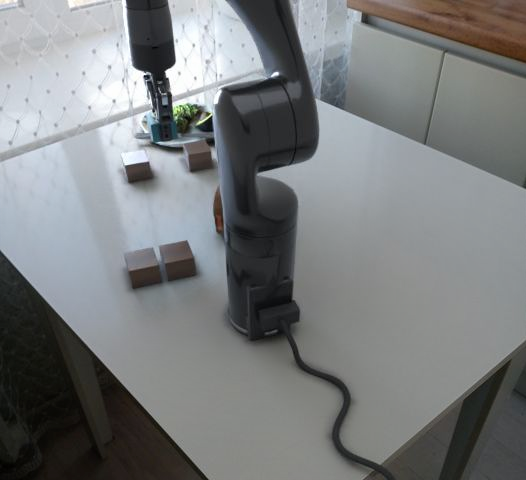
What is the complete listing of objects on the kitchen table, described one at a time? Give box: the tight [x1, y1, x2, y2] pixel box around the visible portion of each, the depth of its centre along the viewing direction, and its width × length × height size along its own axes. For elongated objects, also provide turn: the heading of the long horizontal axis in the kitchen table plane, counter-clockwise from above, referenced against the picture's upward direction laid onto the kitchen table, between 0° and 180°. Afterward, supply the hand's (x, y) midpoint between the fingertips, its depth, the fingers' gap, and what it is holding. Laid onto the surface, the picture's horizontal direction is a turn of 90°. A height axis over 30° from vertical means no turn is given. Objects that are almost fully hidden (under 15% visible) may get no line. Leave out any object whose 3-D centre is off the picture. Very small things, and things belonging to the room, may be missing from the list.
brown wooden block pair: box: [123, 239, 197, 289], centre depth 86 cm, size 5×10×4 cm, turn 109°
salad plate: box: [134, 101, 215, 148], centre depth 116 cm, size 19×18×5 cm
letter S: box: [145, 111, 178, 144], centre depth 102 cm, size 5×5×4 cm
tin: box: [212, 184, 224, 236], centre depth 94 cm, size 15×3×8 cm, turn 168°
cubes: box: [120, 140, 213, 183], centre depth 107 cm, size 5×17×4 cm, turn 109°
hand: (163, 133), depth 103 cm, fingers closed on letter S, 4 cm apart
